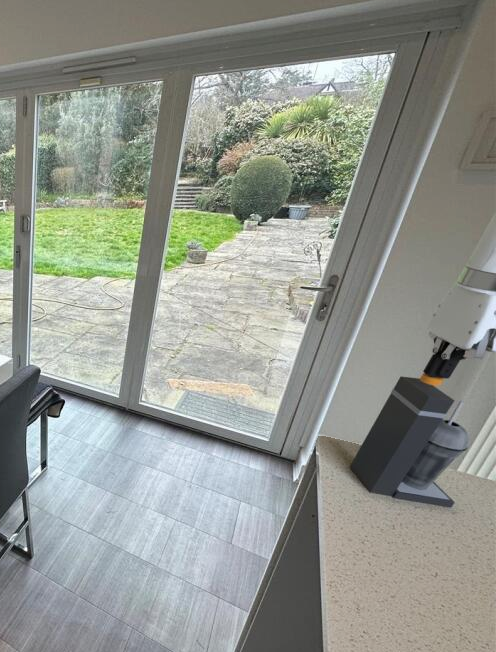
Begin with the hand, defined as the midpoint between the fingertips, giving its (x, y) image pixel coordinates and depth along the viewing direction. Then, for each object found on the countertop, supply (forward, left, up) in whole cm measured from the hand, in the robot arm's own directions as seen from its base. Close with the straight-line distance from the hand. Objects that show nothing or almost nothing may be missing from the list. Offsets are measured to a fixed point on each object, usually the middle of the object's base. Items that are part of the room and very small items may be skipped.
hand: (435, 375), depth 77 cm
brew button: (0, 0, -2) cm, 2 cm away
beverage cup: (-7, 0, -25) cm, 26 cm away
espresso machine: (-5, 0, -27) cm, 27 cm away
